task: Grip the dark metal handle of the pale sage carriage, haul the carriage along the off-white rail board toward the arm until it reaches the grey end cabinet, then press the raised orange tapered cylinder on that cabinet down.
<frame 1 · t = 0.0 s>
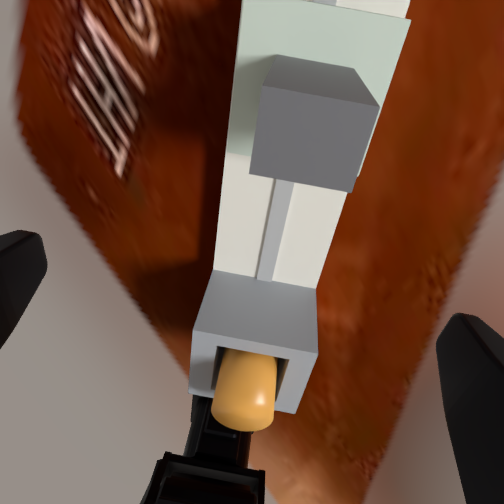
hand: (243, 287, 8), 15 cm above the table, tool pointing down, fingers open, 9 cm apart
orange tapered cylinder: (248, 371, 22), point 7 cm above the table, slide at 0.0 cm
carriage: (308, 103, 13), point 6 cm above the table, slide at 9.0 cm
rail: (285, 173, 22), on the table
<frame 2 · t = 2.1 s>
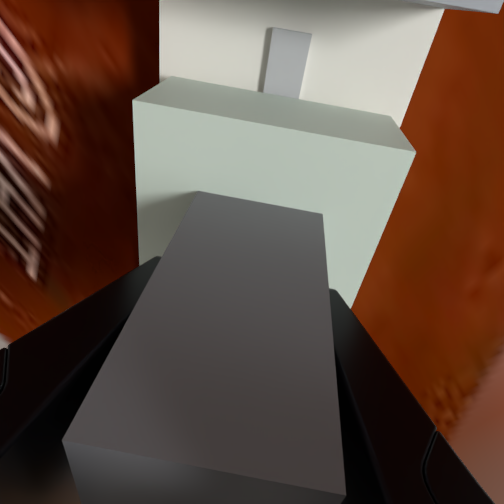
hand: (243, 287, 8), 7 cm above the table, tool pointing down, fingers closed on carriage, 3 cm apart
carriage: (244, 283, 8), point 6 cm above the table, slide at 9.0 cm, touching gripper
rail: (247, 284, 17), on the table
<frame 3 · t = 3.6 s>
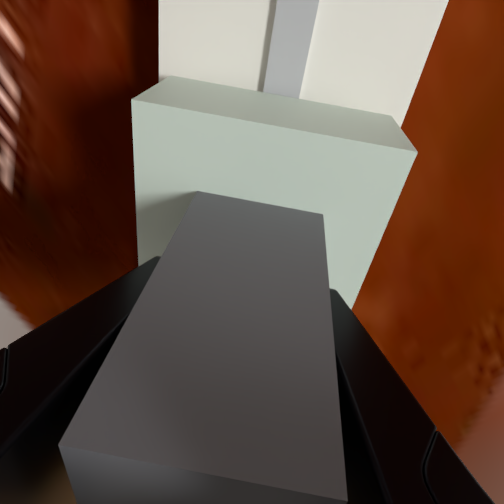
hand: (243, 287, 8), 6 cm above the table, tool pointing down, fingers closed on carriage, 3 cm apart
carriage: (244, 284, 8), point 6 cm above the table, slide at 4.2 cm, touching gripper
rail: (264, 188, 14), on the table
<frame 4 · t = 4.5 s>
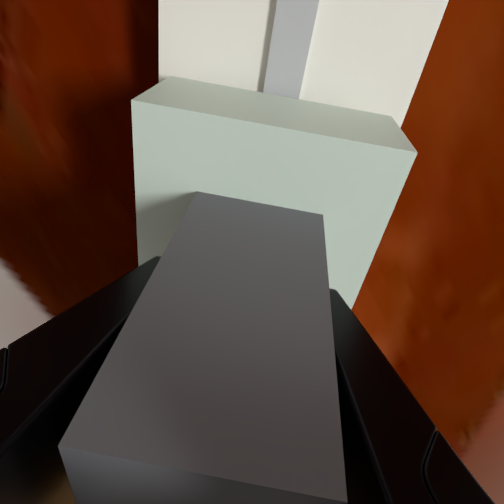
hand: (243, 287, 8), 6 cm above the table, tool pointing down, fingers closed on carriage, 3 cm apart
carriage: (244, 285, 8), point 6 cm above the table, slide at 0.6 cm, touching gripper
rail: (283, 85, 12), on the table
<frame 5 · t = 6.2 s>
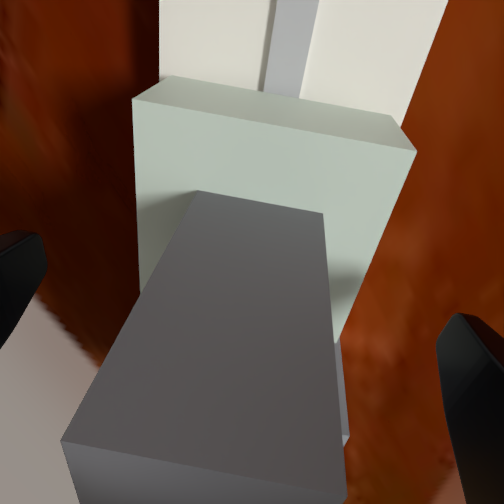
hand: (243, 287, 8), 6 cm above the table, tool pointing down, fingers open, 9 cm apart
carriage: (244, 283, 8), point 6 cm above the table, slide at 0.6 cm
rail: (283, 83, 12), on the table
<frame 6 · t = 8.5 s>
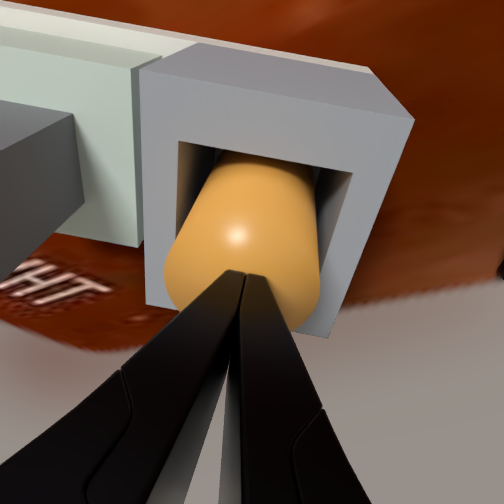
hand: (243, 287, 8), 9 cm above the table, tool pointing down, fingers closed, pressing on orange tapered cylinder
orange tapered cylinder: (254, 223, 10), point 7 cm above the table, slide at 0.2 cm, touching gripper
carriage: (10, 174, 10), point 6 cm above the table, slide at 0.6 cm
rail: (40, 102, 16), on the table
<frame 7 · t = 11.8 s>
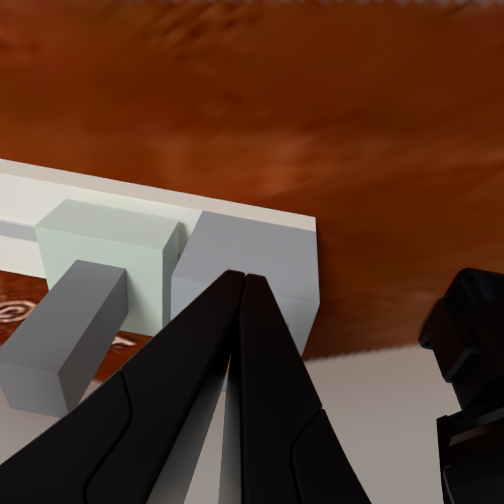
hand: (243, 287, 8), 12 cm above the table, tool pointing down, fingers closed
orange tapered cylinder: (242, 310, 19), point 5 cm above the table, slide at 2.2 cm
carriage: (88, 309, 17), point 6 cm above the table, slide at 0.6 cm
rail: (91, 227, 23), on the table
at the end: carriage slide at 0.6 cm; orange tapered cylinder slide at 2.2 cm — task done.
